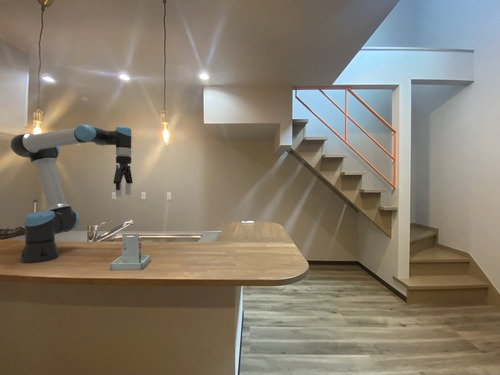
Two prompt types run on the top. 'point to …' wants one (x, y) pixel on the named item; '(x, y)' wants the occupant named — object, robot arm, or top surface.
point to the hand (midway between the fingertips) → (123, 195)
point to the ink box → (131, 249)
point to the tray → (130, 264)
